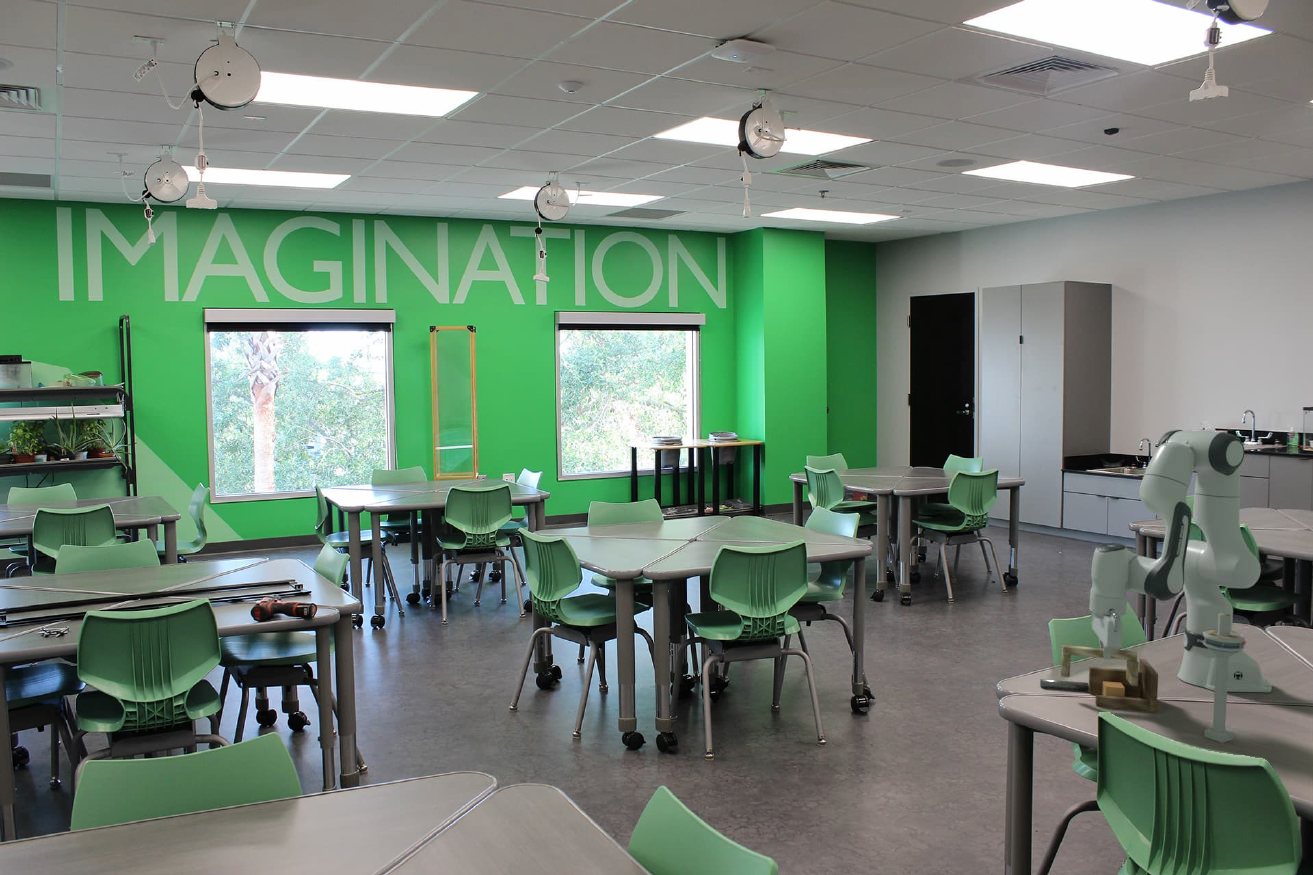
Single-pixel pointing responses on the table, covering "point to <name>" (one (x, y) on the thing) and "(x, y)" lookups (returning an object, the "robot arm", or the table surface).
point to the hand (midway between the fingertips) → (1105, 656)
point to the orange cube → (1113, 689)
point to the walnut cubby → (1126, 687)
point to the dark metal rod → (1064, 685)
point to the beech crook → (1098, 652)
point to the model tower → (1221, 672)
